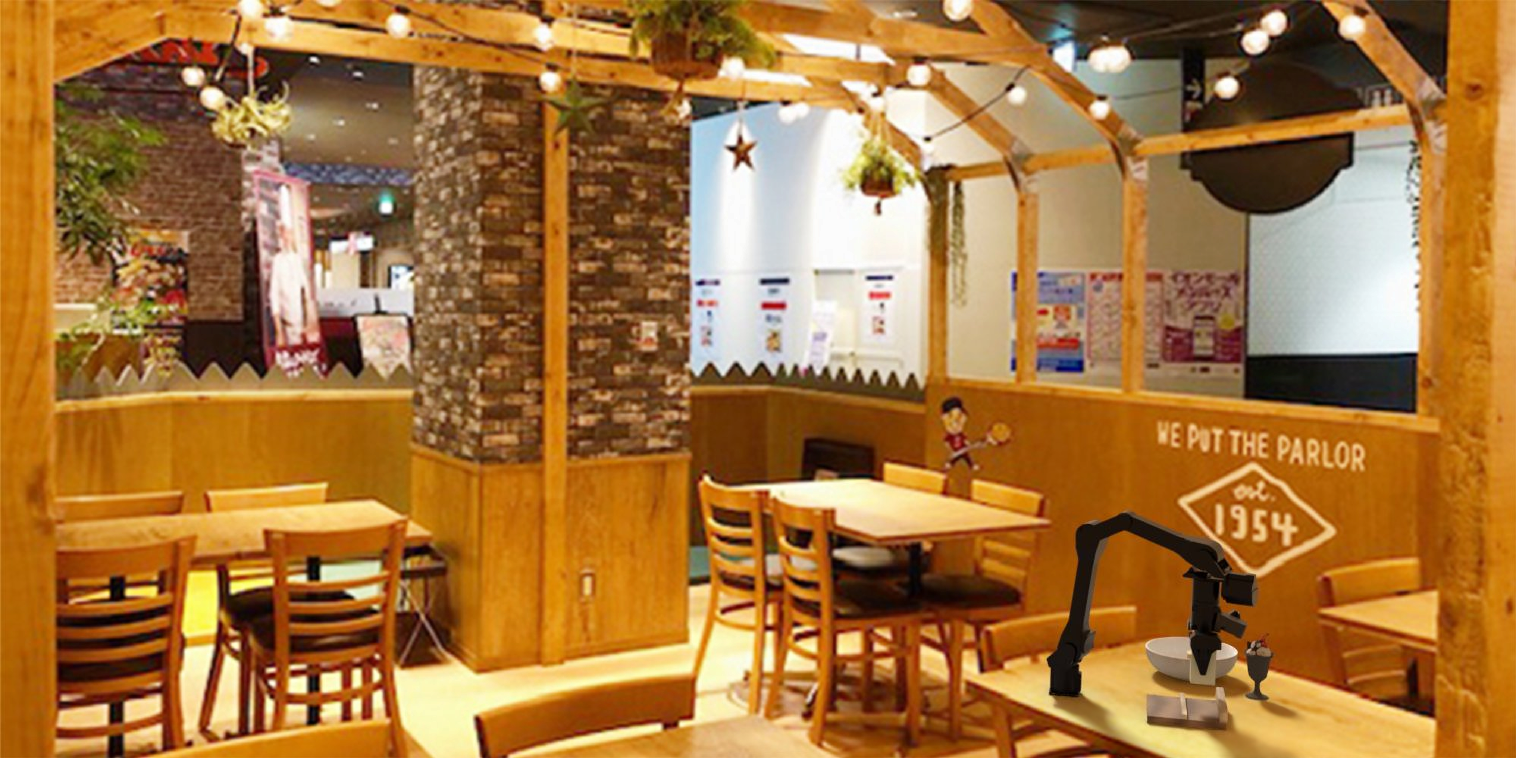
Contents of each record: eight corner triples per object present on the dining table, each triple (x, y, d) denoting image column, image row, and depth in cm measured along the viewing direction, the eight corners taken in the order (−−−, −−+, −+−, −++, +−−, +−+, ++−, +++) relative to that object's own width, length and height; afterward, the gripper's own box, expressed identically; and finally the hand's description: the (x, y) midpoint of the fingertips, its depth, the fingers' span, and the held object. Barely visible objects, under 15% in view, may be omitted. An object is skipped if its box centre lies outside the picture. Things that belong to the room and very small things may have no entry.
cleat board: (1146, 722, 289) (1147, 701, 289) (1146, 700, 305) (1147, 680, 304) (1226, 730, 285) (1227, 709, 285) (1222, 707, 300) (1223, 687, 300)
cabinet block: (1186, 682, 292) (1187, 645, 291) (1185, 676, 297) (1187, 640, 296) (1215, 685, 290) (1216, 648, 290) (1213, 678, 295) (1215, 642, 295)
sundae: (1275, 702, 305) (1278, 636, 304) (1243, 700, 306) (1246, 634, 305) (1270, 693, 311) (1273, 628, 310) (1239, 691, 313) (1241, 626, 312)
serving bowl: (1161, 659, 340) (1162, 631, 339) (1247, 674, 327) (1249, 645, 327) (1131, 678, 323) (1132, 649, 322) (1220, 694, 311) (1221, 664, 310)
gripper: (1248, 613, 281) (1245, 687, 282) (1242, 593, 299) (1239, 663, 300) (1191, 608, 284) (1188, 682, 285) (1188, 589, 302) (1186, 659, 303)
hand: (1202, 671), depth 293 cm, fingers closed on cabinet block, 5 cm apart
